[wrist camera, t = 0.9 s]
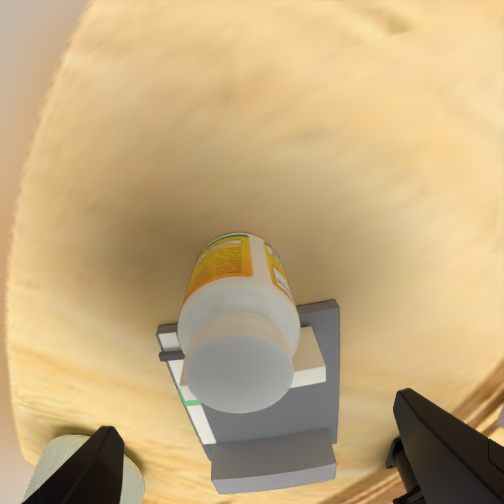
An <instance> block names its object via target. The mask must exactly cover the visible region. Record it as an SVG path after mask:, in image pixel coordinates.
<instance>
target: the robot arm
mask: <svg viewBox="0 0 504 504" xmlns="http://www.w3.org/2000/svg"><path fill="white" fill-rule="evenodd" d="M393 412H394V416H395V419H396V423H397V426H398V429H399V433H400V436H401V437H400V438H398V439H396V440H394V442H393V444H392V448H391V451H390V454H389V457H388V460H387V463H386V468H387V469H390V468H393V467H397V469H398V472H399V474H400V477H401V479H402V482H403V484H404V487H405V489H406V492H407V494H405V495H403V496H401V497H399V498H396V499H394V500H393V504H504V447H503V446H501V445H500V444H498V443H496V442H495V441H493V440H491V439H488V437H486V436H485V435H483V434H481V433H480V432H478V431H477V430H475V429H473V428H472V427H470V426H469V425H467V424H465V423H464V422H462V421H461V420H459V419H458V418H456V417H454V416H453V415H451V414H450V413H448V412H447V411H445V410H443V409H442V408H440V407H439V406H437V405H436V404H434V403H432V402H431V401H429V400H428V399H426V398H425V397H423V396H422V395H420V394H419V393H417V392H415V391H414V390H412V389H411V388H405V389H402V390H399V391H398V392H397V393H396V397H395V402H394V406H393ZM123 465H124V441H123V439H122V438H121V436H120V435H119V433H118V432H117V430H116V429H115V428H114V427H113V426H101V427H100V428H99V429H98V430H97V431H96V432H95V433H94V434H93V435H92V436H91V437H90V438H89V439H88V440H87V441H86V442H85V443H84V444H83V445H82V446H81V447H80V448H79V449H78V450H77V451H76V452H75V453H74V454H73V455H72V456H71V457H70V458H69V459H68V460H66V461H65V462H64V463H63V464H62V465H61V466H60V467H59V468H58V469H57V470H56V471H55V472H54V473H53V474H52V475H51V476H50V477H49V478H48V479H47V480H46V481H45V482H44V483H43V484H42V485H41V486H40V487H39V488H38V489H37V490H36V491H35V492H34V493H33V494H32V495H30V496H29V497H28V498H27V499H26V500H25V501H24V502H23V503H21V504H120V498H121V492H122V484H123Z"/></svg>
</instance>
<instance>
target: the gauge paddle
mask: <svg viewBox="0 0 504 504" xmlns="http://www.w3.org/2000/svg"><path fill="white" fill-rule="evenodd" d="M300 329H301V330H300V339H299V343H298V346H297V349H296V351H295V353H294V355H293V356H292V362H293V368H294V376H293V381H292V384H291V386H290V388H294V387H300V386H305V385H311V384H316V383H321V382H326V366H325V363H324V360H323V357H322V355H321V352H320V349H319V346H318V344H317V341H316V338H315V335H314V333H313V330H312V327H311V326H309V327H303V328H300ZM159 358H160V361H172V360H183V359H184V363H183V368H182V373H181V379H180V384H179V387H180V390H181V392H182V395H183V397H184V399H185V401H187V400H198V399H197V398H196V397H195V396H194V395H193V394H192V393H191V392H190V390H189V388H188V386H187V384H186V381H185V375H184V367H185V361H186V356H185V355H184V353H183V351H182V350H176V351H166V352H160V353H159Z"/></svg>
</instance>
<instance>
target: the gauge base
mask: <svg viewBox="0 0 504 504" xmlns="http://www.w3.org/2000/svg"><path fill="white" fill-rule="evenodd" d="M296 309H297V312H298V316H299V320H300V328H303V327H309V326H311V327H312V330H313V333H314V335H315V338H316V341H317V344H318V346H319V349H320V352H321V355H322V357H323V360H324V363H325V366H326V382H321V383H316V384H311V385H305V386H300V387H294V388H289V390H288V391H287V393H286V394H285V395H284V396H283V397H282V398H281V399H280V400H279V401H277V402H276V403H274V404H273V405H271V406H269V407H267V408H265V409H262V410H259V411H255V412H249V413H227V412H222V411H218V410H215V409H213V408H210V407H208V406H206V405H205V404H203V403H201V402H200V401H199V400H187V401H185V399H184V397H183V395H182V392H181V390H180V387H179V384H180V379H181V373H182V368H183V363H184V359H183V360H172V361H166V363H167V365H168V368H169V370H170V373H171V376H172V378H173V381H174V383H175V385H176V388H177V390H178V393H179V395H180V398H181V400H182V402H183V405H184V407H185V409H186V412H187V414H188V416H189V418H190V421H191V423H192V425H193V427H194V429H195V432H196V434H197V436H198V438H199V440H200V442H201V444H202V447H203V449H204V451H205V453H206V455H207V457H208V459H209V461H212V464H211V481H212V483H213V485H214V486H215V488H216V490H217V491H218V493H219V494H235V493H248V492H258V491H267V490H275V489H283V488H289V487H296V486H302V485H307V484H313V483H318V482H323V481H327V480H332V479H335V474H336V459H335V456H334V452H333V449H332V445H331V444H335V443H337V428H338V408H339V376H340V311H339V305H338V304H337V302H336V300H331V301H325V302H320V303H314V304H309V305H303V306H297V307H296ZM156 336H157V339H158V341H159V344H160V347H161V350H162V352H166V351H176V350H182V349H181V346H180V343H179V339H178V324H173V325H164V326H159V327H158V330H157V333H156Z"/></svg>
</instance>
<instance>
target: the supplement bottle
mask: <svg viewBox="0 0 504 504" xmlns="http://www.w3.org/2000/svg"><path fill="white" fill-rule="evenodd" d="M300 330H301V329H300V320H299V316H298V312H297V309H296V305H295V302H294V299H293V296H292V293H291V290H290V286H289V283H288V280H287V277H286V274H285V271H284V268H283V265H282V262H281V260H280V258H279V256H278V254H277V252H276V251H275V249H274V248H273V247H272V246H271V245H270V244H269V243H268V242H266V241H265V240H263V239H261V238H260V237H258V236H255V235H252V234H247V233H232V234H227V235H224V236H221V237H219V238H217V239H215V240H213V241H212V242H210V243H209V244H208V245H207V246H206V247H205V248H204V249H203V250H202V251H201V253H200V255H199V256H198V259H197V261H196V264H195V267H194V270H193V273H192V276H191V279H190V283H189V286H188V289H187V293H186V296H185V299H184V303H183V306H182V309H181V312H180V316H179V320H178V339H179V343H180V346H181V349H182V351H183V353H184V355H185V356H186V361H185V367H184V375H185V381H186V384H187V386H188V388H189V390H190V392H191V393H192V394H193V395H194V396H195V397H196V398H197V399H198V400H199V401H200V402H201V403H203V404H205V405H206V406H208V407H210V408H213V409H215V410H218V411H222V412H227V413H249V412H255V411H259V410H262V409H265V408H267V407H269V406H271V405H273V404H274V403H276V402H277V401H279V400H280V399H281V398H282V397H283V396H284V395H285V394H286V393H287V391H288V390H289V388H290V386H291V384H292V381H293V376H294V368H293V362H292V356H293V355H294V353H295V351H296V349H297V346H298V343H299V339H300Z"/></svg>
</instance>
